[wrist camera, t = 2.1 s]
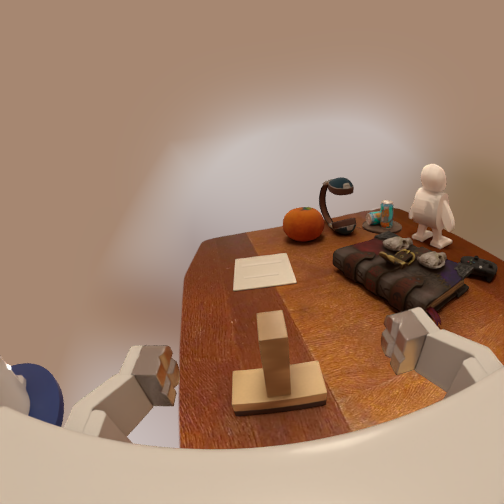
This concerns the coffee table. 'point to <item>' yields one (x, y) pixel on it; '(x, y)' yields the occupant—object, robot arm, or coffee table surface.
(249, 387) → the wooden post on base
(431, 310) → the book
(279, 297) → the coffee table surface
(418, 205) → the toy robot
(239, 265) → the flat beige rectangular tile
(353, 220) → the headphones
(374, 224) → the soda cans on board
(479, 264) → the game controller
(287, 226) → the fruit
